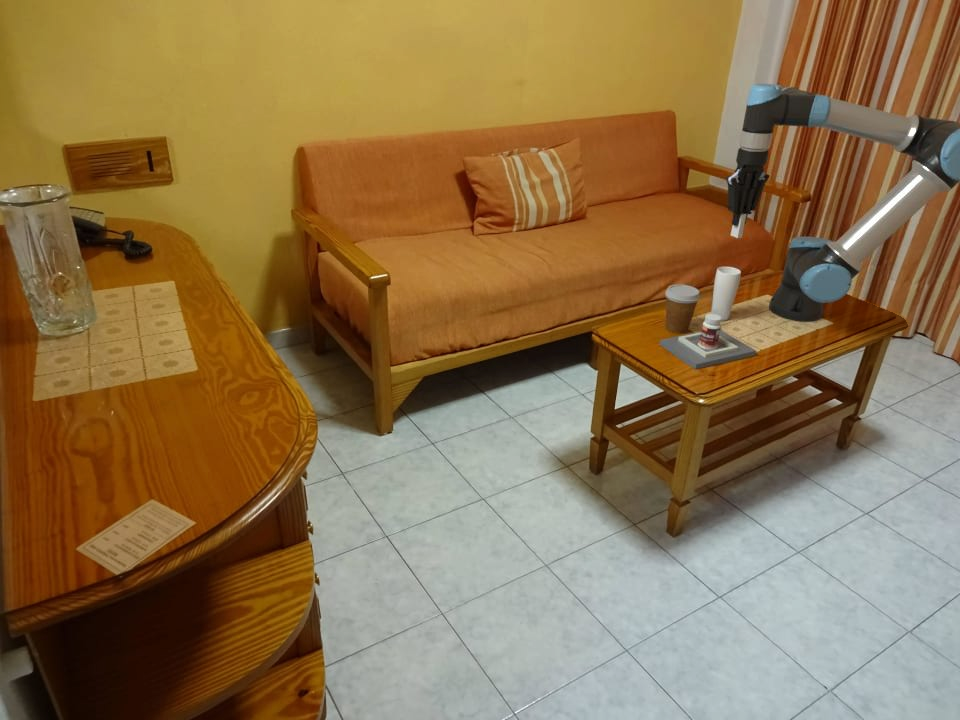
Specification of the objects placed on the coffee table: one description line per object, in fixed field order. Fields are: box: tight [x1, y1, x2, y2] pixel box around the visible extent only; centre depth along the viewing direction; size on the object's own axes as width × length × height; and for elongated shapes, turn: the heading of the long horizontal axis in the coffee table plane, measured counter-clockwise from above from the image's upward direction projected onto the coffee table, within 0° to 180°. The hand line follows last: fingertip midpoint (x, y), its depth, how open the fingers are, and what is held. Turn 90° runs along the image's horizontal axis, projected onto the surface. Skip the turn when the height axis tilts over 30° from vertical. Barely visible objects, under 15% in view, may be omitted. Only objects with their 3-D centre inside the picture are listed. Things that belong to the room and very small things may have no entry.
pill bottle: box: [699, 313, 722, 349], centre depth 181 cm, size 5×5×8 cm
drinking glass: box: [710, 266, 742, 322], centre depth 199 cm, size 7×7×15 cm
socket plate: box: [659, 330, 757, 370], centre depth 183 cm, size 20×15×2 cm
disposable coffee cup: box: [664, 284, 701, 334], centre depth 193 cm, size 10×10×12 cm
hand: (736, 236), depth 187 cm, fingers closed
